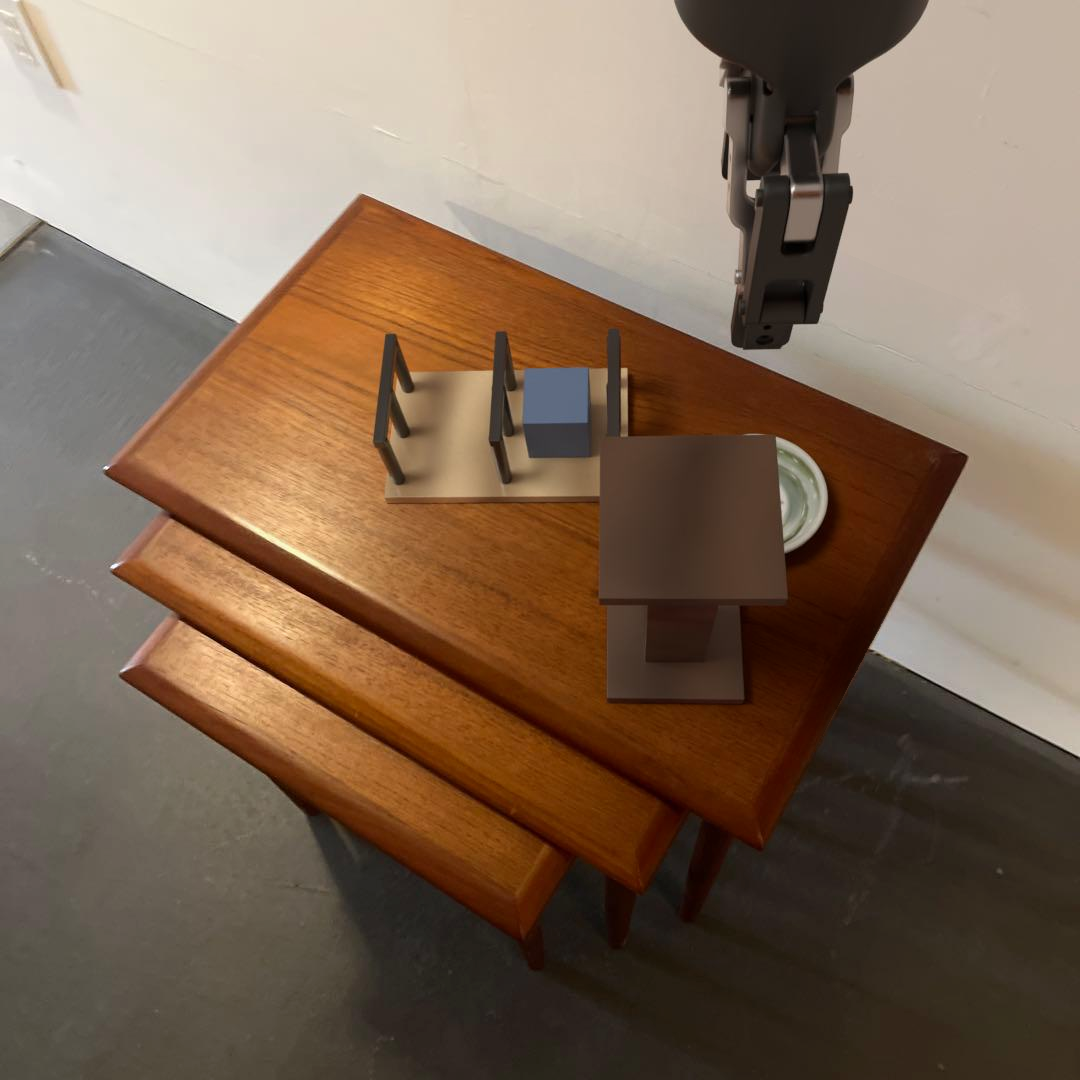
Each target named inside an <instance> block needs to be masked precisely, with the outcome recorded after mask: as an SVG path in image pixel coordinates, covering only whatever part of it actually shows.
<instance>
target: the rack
mask: <svg viewBox="0 0 1080 1080" xmlns="http://www.w3.org/2000/svg"><path fill="white" fill-rule="evenodd" d="M493 348H494V350H493V365H492V369H491V370H448V371H447V370H445V371H444V370H443V371H441V370H439V371H438V370H437V371H410V370H409V366H408V364H407V362H406V358H405V355H404V354H403V351H402V348H401V345H400V343H399V339H398V336H397V334H396V333H385V334H384V342H383V351H382V359H381V368H380V377H379V386H378V393H377V402H376V410H375V411H376V412H375V419H374V429H373V437H372V444H373V446H374V448H375V449H376V451H377V453H378V455H379V456H380V459H381V461H382V463H383V465H384V467H385V469H386V474H385V475H386V477H385V483H384V484H385V485H384V495H383V498H384V500H385V502H386V504H452V503H453V504H458V503H459V504H460V503H461V504H465V503H466V504H467V503H471V504H473V503H475V504H476V503H478V504H479V503H482V504H483V503H589V502H590V503H594V502H595V503H600V437H623V436H629V372H628V371H629V369H628V367H622V341H621V335H620V328H608V329H607V335H606V365H607V367H605V368H604V367H603V368H602V367H599V368H589V377H590V393H591V456H590V457H554V458H529V456H528V451H527V446H526V440H525V435H524V430H523V425H522V417H523V394H524V372H525V369H515V368H514V362H513V357H512V352H511V348H510V342H509V338H508V332H507V331H506V330H499V331H497V330H496V331H495V332H494V347H493ZM395 375H396V381H395ZM394 381H395V382H396V383H395V390H394ZM390 421H391V430H390V431H391V432H390V439H389V438H388V437H389V435H388V434H389V427H390Z"/></svg>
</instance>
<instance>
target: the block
mask: <svg viewBox="0 0 1080 1080" xmlns="http://www.w3.org/2000/svg"><path fill="white" fill-rule="evenodd" d="M589 369H590V367H587V366H584V367H583V366H582V367H577V366H576V367H575V366H574V367H533V368H526V367H525V368H524V370H525V372H524V394H523V417H522V425H523V430H524V435H525V440H526V446H527V451H528V456H529V458H554V457H590V456H591V393H590V377H589Z"/></svg>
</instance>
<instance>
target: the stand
mask: <svg viewBox="0 0 1080 1080" xmlns="http://www.w3.org/2000/svg"><path fill="white" fill-rule="evenodd" d="M776 437H777V435H776V434H764V435H745V434H717V435H715V434H713V435H711V434H710V435H638V436H637V435H636V436H634V435H633V436H630V435H628V436H623V437H600V502H599V507H598V509H599V511H598V512H599V516H598V517H599V518H598V519H599V520H598V522H599V523H598V536H599V537H598V605H599V606H606V688H605V689H606V693H605V694H606V703H612V704H613V703H614V704H615V703H616V704H618V703H620V704H621V703H622V704H697V705H698V704H699V705H700V704H702V705H705V704H706V705H707V704H708V705H709V704H710V705H718V704H719V705H743V703H744V701H745V699H746V698H745V682H744V663H743V662H744V661H743V642H742V627H741V607H744V606H745V607H746V606H747V607H751V606H757V607H758V606H759V607H765V606H766V607H768V606H769V607H771V606H773V607H774V606H775V607H784V606H786V604H787V602H788V599H789V595H788V582H787V581H788V578H787V567H786V566H787V565H786V553H785V552H784V539H783V525H782V512H781V499H780V486H779V472H778V459H777V446H776ZM740 606H741V607H740Z"/></svg>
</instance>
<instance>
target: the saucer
mask: <svg viewBox="0 0 1080 1080" xmlns="http://www.w3.org/2000/svg"><path fill="white" fill-rule="evenodd" d="M744 435H765V434H764V433H745V434H744ZM776 446H777V459H778V472H779V486H780V499H781V512H782V525H783V539H784V552H785V554H788V553H790V552H792V551H794V550H797V549H799V548H800V547H802V546H803V545H804V544H806V543H807V542H808V541H810V539H812V538H813V536H814V535H815V534H816V533H817V532H818V530H819V528H820V527H821V525H822V524H823V521H824V519H825V517H826V514H827V510H828V503H829V493H828V487H827V483H826V480H825V477H824V474H823V473H822V471H821V469H820V467H819V466H818V464H817V462H816V461H815V460H814V459H813V458H812V457H811V456H810V454H808V453H807V452H806V451H805V450H804V449H802V448H801V447H799V446H798V445H797V444H795V443H793V442H792V441H791V442H790V441H789V440H787V439H784V438H782V437H778V436H776Z"/></svg>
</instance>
